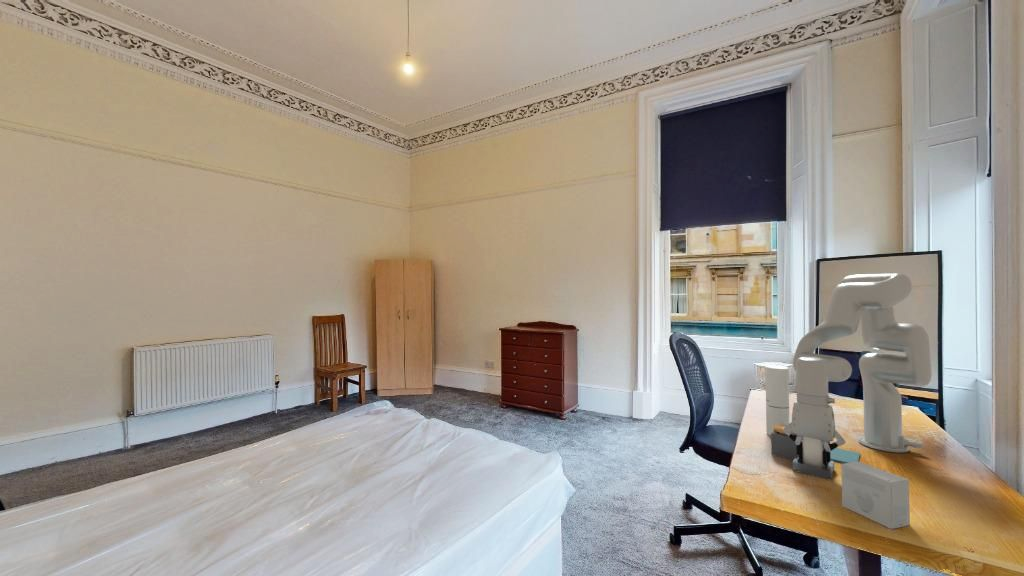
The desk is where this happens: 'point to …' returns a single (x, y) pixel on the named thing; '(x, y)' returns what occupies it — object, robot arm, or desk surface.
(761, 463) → the desk surface
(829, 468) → the frame
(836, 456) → the pad
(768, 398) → the cylindrical container
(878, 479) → the skincare box
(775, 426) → the plunger
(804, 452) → the cylinder
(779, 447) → the plunger housing
